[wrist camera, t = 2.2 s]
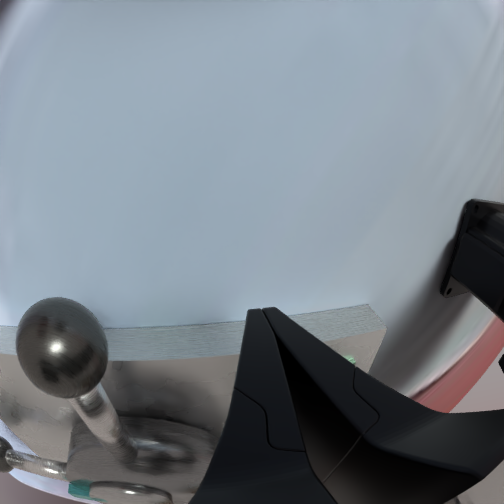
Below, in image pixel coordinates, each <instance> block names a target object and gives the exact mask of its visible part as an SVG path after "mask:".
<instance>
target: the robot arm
mask: <svg viewBox="0 0 504 504" xmlns="http://www.w3.org/2000/svg"><path fill="white" fill-rule="evenodd" d="M466 292H471V293H472V294H473V295H474V296H475V297H476V298H478V299H479V300H480V301H481V302H482V303H483V304H484V305H485V306H486V307H488V308H489V309H490V310H491V311H492V312H493V313H494V314H495V315H496V316H497V317H498V318H499V319H500V320H501V321H502V322H504V203H500V202H493V201H487V200H480V199H471V200H470V201H469V203H468V205H467V209H466V213H465V217H464V220H463V224H462V228H461V231H460V235H459V238H458V241H457V244H456V248H455V251H454V254H453V257H452V260H451V263H450V266H449V268H448V271H447V274H446V277H445V279H444V282H443V285H442V287H441V290H440V294H441V295H442V296H443V297H445V298H448V297H452V296H455V295H459V294H463V293H466ZM498 363H499V365H500V367H501V369H502V371H503V373H504V354H503V355H502V357H501V358H500V360H499V362H498ZM188 504H504V409H500V410H492V411H480V412H466V413H442V412H438V411H435V410H432V409H430V408H427V407H425V406H423V405H421V404H420V403H418V402H416V401H414V400H412V399H410V398H408V397H406V396H404V395H402V394H401V393H399V392H397V391H395V390H393V389H392V388H390V387H388V386H386V385H385V384H383V383H381V382H379V381H378V380H376V379H375V378H373V377H372V376H370V375H369V374H367V373H366V372H364V371H363V370H362V369H360V368H359V367H355V365H354V364H353V363H351V362H350V361H349V360H347V359H346V358H344V357H343V356H342V355H340V354H339V353H337V352H336V351H335V350H333V349H332V348H330V347H329V346H328V345H326V344H325V343H323V342H322V341H321V340H319V339H318V338H317V337H315V336H314V335H312V334H311V333H310V332H308V331H307V330H306V329H304V328H303V327H302V326H300V325H299V324H297V323H296V322H295V321H293V320H292V319H291V318H289V317H288V316H287V315H285V314H284V313H283V312H281V311H280V310H279V309H277V308H276V307H268V308H263V309H262V310H261V309H259V308H258V309H249V310H248V311H247V316H246V322H245V327H244V333H243V338H242V344H241V349H240V355H239V360H238V366H237V371H236V376H235V382H234V387H233V392H232V397H231V402H230V407H229V411H228V415H227V418H226V421H225V424H224V427H223V430H222V433H221V436H220V438H219V441H218V443H217V446H216V448H215V451H214V454H213V456H212V459H211V461H210V464H209V466H208V469H207V471H206V473H205V476H204V478H203V480H202V482H201V484H200V486H199V488H198V489H197V491H196V493H195V494H194V496H193V497H192V498H191V500H190V501H189V503H188Z"/></svg>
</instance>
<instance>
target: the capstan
mask: <svg viewBox="0 0 504 504" xmlns="http://www.w3.org/2000/svg"><path fill="white" fill-rule="evenodd" d="M15 344H16V353H17V357H18V361H19V363H20V366H21V368H22V370H23V372H24V373H25V375H26V376H27V378H28V379H29V380H30V381H31V382H32V383H33V384H34V385H35V386H36V387H37V388H38V389H40V390H41V391H43V392H45V393H46V394H48V395H51V396H54V397H57V398H65V399H68V400H69V402H70V403H71V404H72V406H73V407H74V409H75V410H76V412H77V413H78V414H79V416H80V417H81V419H82V420H83V422H80V423H79V424H77V425H76V426H75V427H74V428H73V429H72V431H71V436H70V443H69V451H68V459H67V463H66V462H61V461H56V460H51V459H46V458H42V457H38V456H34V455H30V454H26V453H22V452H19V451H15V450H13V448H12V446H11V445H10V443H9V442H8V441H7V440H6V439H4V438H3V437H1V436H0V472H3V473H4V472H9V471H11V470H12V469H13V468H17V469H20V470H24V471H27V472H30V473H34V474H38V475H41V476H45V477H49V478H54V479H58V480H63V481H67V482H70V483H71V484H69V489H68V493H69V494H71V495H72V496H74V497H77V498H83V499H88V500H95V501H98V502H100V503H103V504H188V503H189V501H190V500H191V498H192V497H193V496H194V494H195V493H196V491H197V489H198V488H199V486H200V484H201V482H202V480H203V478H204V476H205V473H206V471H207V469H208V466H209V464H210V461H211V459H212V456H213V454H214V451H215V448H216V446H217V443H218V441H219V438H218V437H216V436H215V435H213V434H211V433H209V432H207V431H204V430H202V429H199V428H196V427H193V426H189V425H185V424H181V423H177V422H172V421H166V420H160V419H153V418H143V417H128V416H118V414H117V412H116V411H115V409H114V407H113V405H112V404H111V402H110V400H109V398H108V396H107V394H106V392H105V391H104V389H103V387H102V385H101V383H100V381H101V380H102V378H103V376H104V374H105V372H106V368H107V364H108V356H109V351H108V343H107V339H106V335H105V333H104V330H103V328H102V326H101V324H100V323H99V321H98V320H97V318H96V317H95V316H94V315H93V314H92V313H91V312H90V311H89V310H88V309H87V308H85V307H84V306H83V305H81V304H80V303H78V302H76V301H73V300H70V299H67V298H62V297H54V298H47V299H44V300H41V301H39V302H37V303H35V304H34V305H32V306H31V307H30V308H29V309H28V310H27V311H26V312H25V314H24V315H23V317H22V318H21V320H20V322H19V325H18V328H17V332H16V340H15Z"/></svg>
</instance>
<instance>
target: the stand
mask: <svg viewBox="0 0 504 504" xmlns="http://www.w3.org/2000/svg"><path fill="white" fill-rule="evenodd" d="M288 317H289V318H291V319H292V320H293V321H295V322H296V323H297V324H299V325H300V326H302V327H303V328H304V329H306V330H307V331H308V332H310V333H311V334H312V335H314V336H315V337H317V338H318V339H319V340H321V341H322V342H323V343H325V344H326V345H328V346H329V347H330V348H332V349H333V350H335V351H336V352H337V353H339V354H340V355H342V356H343V357H344V358H346V359H347V360H349V361H350V362H351V363H353V364H354V365H355V367H359V368H360V369H362V370H363V371H364V372H366V373H368V371H369V369H370V367H371V365H372V363H373V361H374V358H375V356H376V354H377V352H378V350H379V347H380V345H381V343H382V340H383V338H384V336H385V333H386V331H387V327H386V325H385V324H384V323H383V322H382V320H381V319H380V318H379V317H378V315H377V314H376V313H375V312H374V311H373V309H372V308H371V307H370V306H369V305H362V306H356V307H350V308H344V309H337V310H331V311H324V312H317V313H310V314H302V315H294V316H288ZM245 322H246V321H241V322H230V323H218V324H205V325H191V326H174V327H154V328H124V329H103V330H104V333H105V335H106V339H107V343H108V351H109V356H108V364H107V368H106V372H105V374H104V376H103V378H102V380H101V381H100V383H101V385H102V387H103V389H104V391H105V392H106V394H107V396H108V398H109V400H110V402H111V404H112V405H113V407H114V409H115V411H116V412H117V414H118V416H128V417H143V418H153V419H160V420H166V421H172V422H177V423H181V424H185V425H189V426H193V427H196V428H199V429H202V430H204V431H207V432H209V433H211V434H213V435H215V436H216V437H218V438H220V436H221V433H222V430H223V427H224V424H225V421H226V418H227V415H228V411H229V407H230V402H231V397H232V392H233V387H234V382H235V376H236V371H237V366H238V360H239V355H240V349H241V344H242V338H243V333H244V327H245ZM17 328H18V327H10V326H0V419H1V420H2V421H3V422H4V423H5V424H6V425H7V426H8V428H9V429H10V430H11V431H12V432H13V433H14V434H15V435H16V436H17V437H18V438H19V439H20V440H21V441H23V442H24V443H25V444H26V445H27V446H28V447H29V448H30V449H31V450H32V451H33V452H34V453H36V454H37V455H38V456H39V457H42V458H46V459H51V460H56V461H61V462H66V463H67V459H68V451H69V443H70V436H71V431H72V429H73V428H74V427H75V426H76V425H77V424H79V423H80V422H83V420H82V419H81V417H80V416H79V414H78V413H77V412H76V410H75V409H74V407H73V406H72V404H71V403H70V402H69V400H68V399H65V398H57V397H54V396H51V395H48V394H46V393H45V392H43V391H41V390H40V389H38V388H37V387H36V386H35V385H34V384H33V383H32V382H31V381H30V380H29V379H28V378H27V376H26V375H25V373H24V372H23V370H22V368H21V366H20V363H19V361H18V357H17V353H16V344H15V340H16V332H17Z"/></svg>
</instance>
